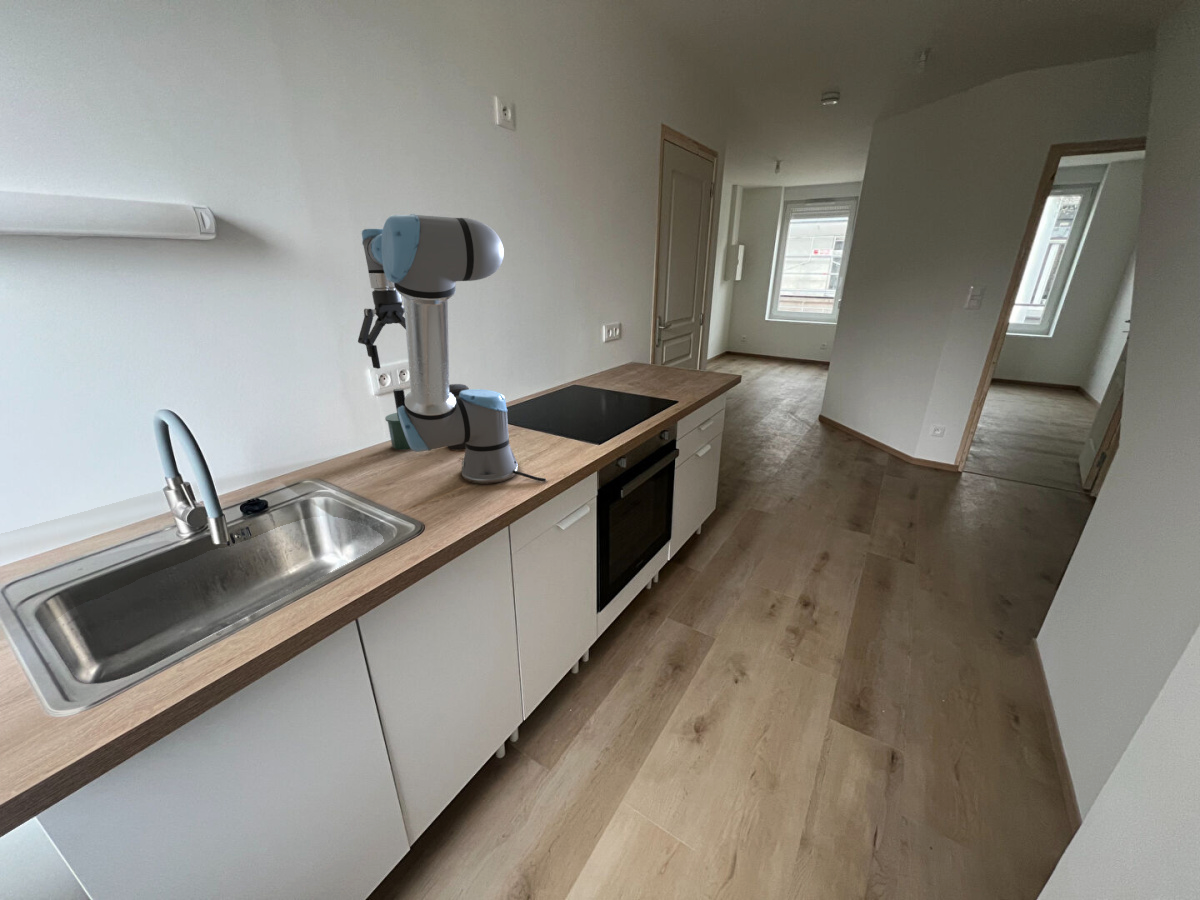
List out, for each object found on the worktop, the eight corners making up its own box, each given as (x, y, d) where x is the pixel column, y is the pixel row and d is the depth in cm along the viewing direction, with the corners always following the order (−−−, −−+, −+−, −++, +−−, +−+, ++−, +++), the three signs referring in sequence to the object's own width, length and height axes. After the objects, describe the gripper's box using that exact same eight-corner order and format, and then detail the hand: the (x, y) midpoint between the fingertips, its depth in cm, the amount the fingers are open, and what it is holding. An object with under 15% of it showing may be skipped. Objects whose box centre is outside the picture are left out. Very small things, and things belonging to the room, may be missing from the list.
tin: (428, 444, 147) (424, 416, 143) (402, 453, 140) (397, 424, 136) (413, 439, 152) (408, 412, 148) (386, 446, 145) (381, 418, 142)
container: (467, 452, 141) (459, 389, 133) (441, 450, 142) (432, 387, 135) (479, 442, 148) (473, 382, 141) (454, 440, 150) (446, 381, 143)
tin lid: (427, 418, 144) (422, 388, 140) (397, 426, 136) (391, 395, 132) (409, 413, 149) (404, 384, 146) (379, 420, 142) (373, 390, 138)
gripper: (417, 288, 140) (427, 357, 147) (334, 290, 121) (350, 369, 128) (432, 288, 135) (441, 359, 143) (348, 290, 117) (364, 372, 124)
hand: (398, 364), depth 136 cm, fingers open, 13 cm apart
